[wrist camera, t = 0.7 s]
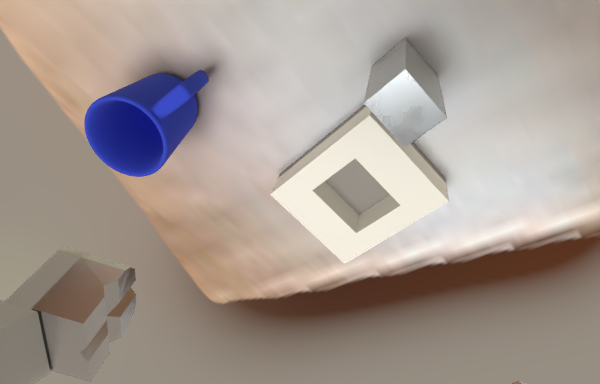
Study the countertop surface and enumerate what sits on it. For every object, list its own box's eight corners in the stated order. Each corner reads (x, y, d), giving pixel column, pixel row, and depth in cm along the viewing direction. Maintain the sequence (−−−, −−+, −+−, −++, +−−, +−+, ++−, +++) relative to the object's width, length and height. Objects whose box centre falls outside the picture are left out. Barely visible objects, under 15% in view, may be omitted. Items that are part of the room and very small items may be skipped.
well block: (372, 98, 44) (369, 115, 40) (445, 178, 47) (449, 201, 43) (280, 173, 51) (270, 194, 47) (348, 239, 54) (344, 263, 50)
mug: (247, 93, 46) (213, 132, 38) (173, 146, 52) (129, 190, 44) (195, 26, 44) (146, 52, 35) (123, 90, 49) (67, 126, 41)
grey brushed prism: (405, 37, 40) (405, 69, 32) (438, 77, 42) (446, 117, 33) (371, 66, 42) (363, 103, 34) (404, 103, 44) (404, 147, 35)
